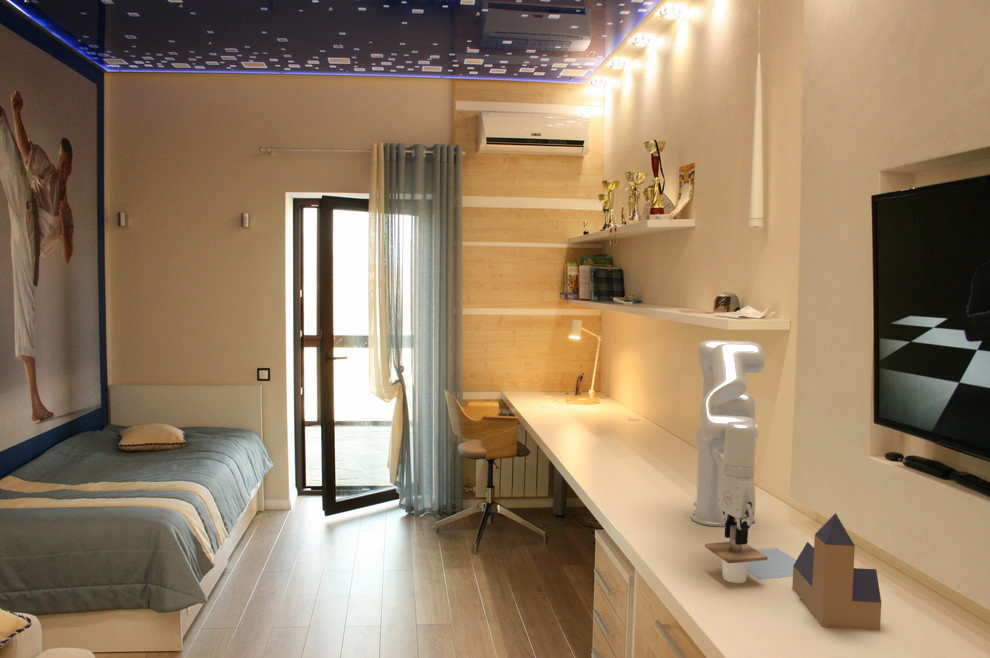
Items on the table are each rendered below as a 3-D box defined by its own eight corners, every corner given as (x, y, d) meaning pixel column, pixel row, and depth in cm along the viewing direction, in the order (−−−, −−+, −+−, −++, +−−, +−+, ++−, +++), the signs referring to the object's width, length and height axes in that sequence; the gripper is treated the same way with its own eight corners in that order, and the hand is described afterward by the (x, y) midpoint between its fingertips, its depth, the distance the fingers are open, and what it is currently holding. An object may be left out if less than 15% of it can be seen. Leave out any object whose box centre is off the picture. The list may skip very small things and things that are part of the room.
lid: (704, 546, 180) (705, 521, 180) (741, 543, 183) (742, 518, 182) (728, 563, 169) (729, 536, 169) (767, 560, 172) (768, 533, 172)
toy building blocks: (821, 626, 153) (826, 516, 151) (792, 589, 171) (796, 491, 170) (879, 630, 152) (885, 519, 150) (844, 592, 170) (849, 493, 169)
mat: (720, 554, 193) (720, 552, 193) (775, 549, 198) (775, 547, 198) (759, 580, 176) (759, 579, 176) (819, 574, 180) (819, 573, 180)
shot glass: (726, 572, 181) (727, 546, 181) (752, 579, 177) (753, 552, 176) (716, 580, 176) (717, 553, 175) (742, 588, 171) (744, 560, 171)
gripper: (707, 462, 182) (705, 530, 183) (745, 480, 166) (742, 554, 167) (732, 461, 184) (730, 528, 185) (772, 478, 167) (769, 552, 168)
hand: (735, 539), depth 176 cm, fingers open, 4 cm apart
